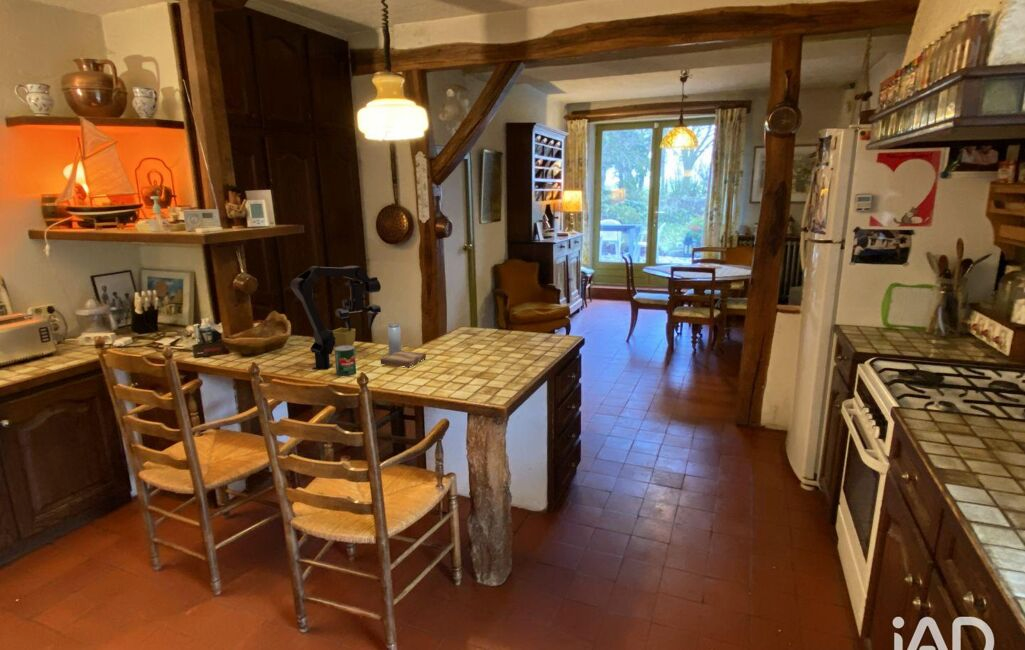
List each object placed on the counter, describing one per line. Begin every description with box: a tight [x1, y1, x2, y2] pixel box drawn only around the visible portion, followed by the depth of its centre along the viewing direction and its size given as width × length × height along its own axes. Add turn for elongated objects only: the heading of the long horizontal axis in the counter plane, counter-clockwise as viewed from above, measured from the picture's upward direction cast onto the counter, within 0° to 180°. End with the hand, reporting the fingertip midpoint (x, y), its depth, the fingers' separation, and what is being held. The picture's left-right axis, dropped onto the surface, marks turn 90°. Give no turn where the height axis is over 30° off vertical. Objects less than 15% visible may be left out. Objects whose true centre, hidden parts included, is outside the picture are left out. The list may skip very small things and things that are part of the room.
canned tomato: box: [333, 345, 357, 377], centre depth 230 cm, size 8×8×11 cm
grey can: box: [387, 323, 403, 354], centre depth 258 cm, size 6×6×14 cm
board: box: [380, 350, 427, 368], centre depth 247 cm, size 14×14×3 cm
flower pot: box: [332, 327, 356, 348], centre depth 268 cm, size 9×9×9 cm
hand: (359, 330), depth 250 cm, fingers open, 9 cm apart
